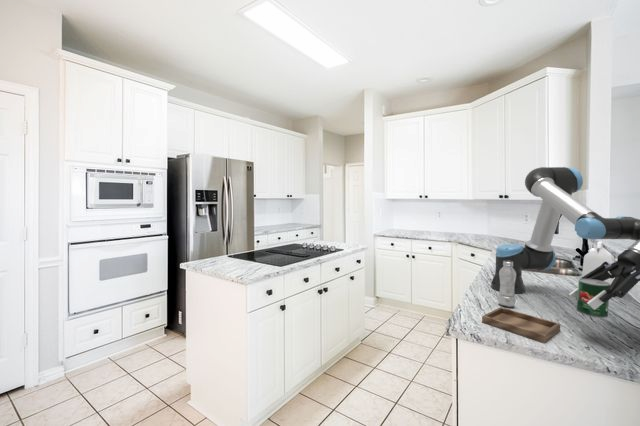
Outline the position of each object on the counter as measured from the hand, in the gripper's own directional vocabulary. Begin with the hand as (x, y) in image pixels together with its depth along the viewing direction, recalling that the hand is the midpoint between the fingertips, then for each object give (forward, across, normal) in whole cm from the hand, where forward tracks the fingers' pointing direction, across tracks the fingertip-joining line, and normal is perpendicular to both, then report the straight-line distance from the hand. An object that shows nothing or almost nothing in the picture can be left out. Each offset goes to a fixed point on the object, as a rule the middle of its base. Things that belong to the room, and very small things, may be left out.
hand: (581, 301), depth 101 cm
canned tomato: (+1, 0, -5) cm, 5 cm away
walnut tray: (+20, +6, +2) cm, 21 cm away
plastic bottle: (+17, +28, -2) cm, 33 cm away
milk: (-22, +57, -42) cm, 74 cm away
